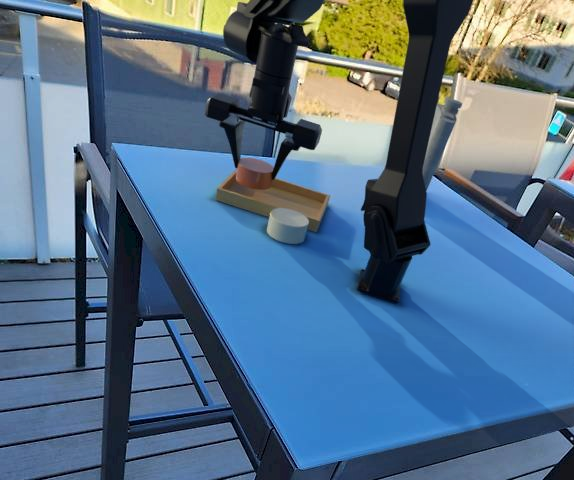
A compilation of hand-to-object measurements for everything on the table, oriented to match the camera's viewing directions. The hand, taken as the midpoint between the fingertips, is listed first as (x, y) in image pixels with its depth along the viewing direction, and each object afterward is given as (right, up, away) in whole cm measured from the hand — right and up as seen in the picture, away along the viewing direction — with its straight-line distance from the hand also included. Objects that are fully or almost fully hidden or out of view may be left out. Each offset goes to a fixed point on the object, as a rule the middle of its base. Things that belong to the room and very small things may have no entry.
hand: (255, 173), depth 86 cm
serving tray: (+3, -4, +3) cm, 6 cm away
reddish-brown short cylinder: (0, -1, +1) cm, 2 cm away
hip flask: (+33, +4, +22) cm, 40 cm away
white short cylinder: (+5, -12, -6) cm, 15 cm away
